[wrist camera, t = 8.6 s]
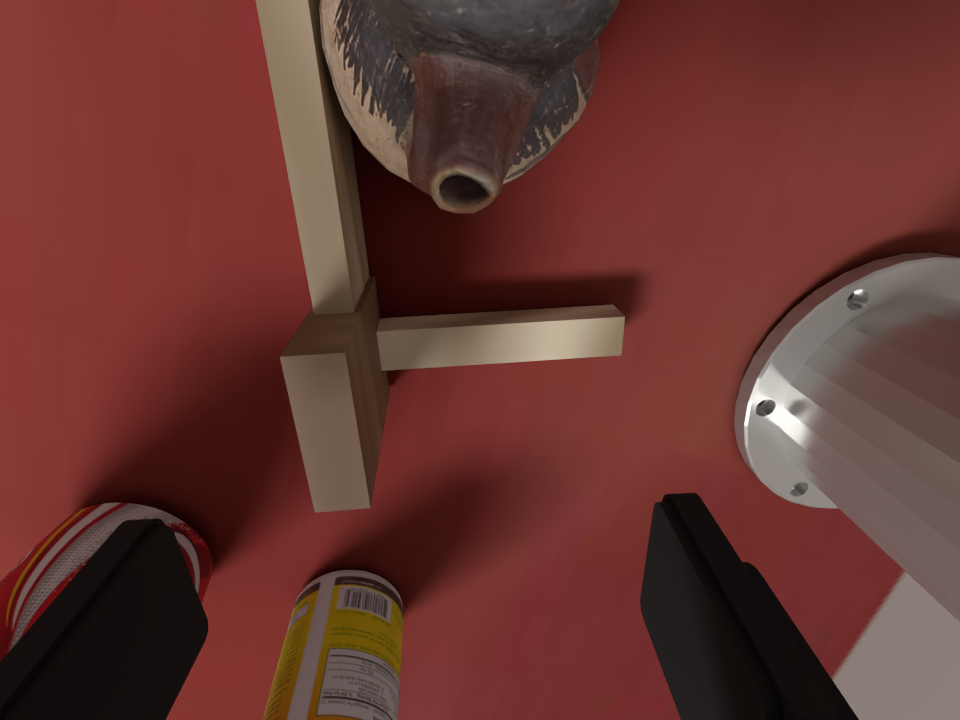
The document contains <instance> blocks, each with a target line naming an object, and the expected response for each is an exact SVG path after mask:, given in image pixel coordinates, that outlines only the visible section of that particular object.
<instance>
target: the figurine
mask: <svg viewBox="0 0 960 720" xmlns="http://www.w3.org/2000/svg"><path fill="white" fill-rule="evenodd" d="M619 2H620V0H321V1H320V8H319V12H320V25H321V39H322V48H323V51H324V54H325V57H326V61H327V64H328V67H329V70H330V74H331V77H332V81H333V85H334V88H335V91H336V94H337V96H338V99H339V102H340V104H341V107H342V110H343V112H344V115H345V117H346V118H347V120H348V122H349V123H350V125H351V126H352V128H353V130H354V131H355V133H356V134H357V136H358V138H359V140H360V142H361V143H362V145H363V146H364V147H365V148H366V149H367V150H368V151H369V152H370V153H371V154H372V155H373V156H374V157H375V158H376V159H377V160H378V161H379V162H380V163H381V164H382V165H383V166H384V167H385V168H386V169H387V170H389V171H390V172H392V173H394V174H396V175H398V176H399V177H401V178H403V179H405V180H407V181H408V182H410V183H412V185H413V186H415V187H417V188H418V189H420V190H422V191H423V192H425V193H427V194H428V195H431V197H432V198H433V200H434V201H435V203H436V204H437V205H438V207H439V208H440V209H443V210H446V211H449V212H452V213H462V214H474V213H476V212H477V211H479V210H481V209H483V208H484V207H486V206H488V205H489V204H491V203H492V202H493V201H494V200H495V199H496V198H497V197H498V195H499V194H500V193H501V191H502V188H503V185H504V184H506V183H508V182H511V181H513V180H515V179H517V178H519V177H521V176H522V175H523V174H524V173H525V172H527V171H528V170H529V169H530V168H532V167H533V166H534V165H535V164H537V163H538V162H539V161H540V160H542V159H543V158H544V157H545V156H546V155H547V154H548V153H550V152H551V151H552V150H553V149H554V148H555V146H556V145H557V144H558V143H559V142H560V141H561V140H562V139H563V137H564V136H565V135H566V134H567V133H568V132H569V131H570V129H571V128H572V127H573V126H574V125H575V124H576V123H577V122H578V120H579V118H580V116H581V114H582V112H583V110H584V108H585V106H586V104H587V102H588V100H589V98H590V96H591V95H592V93H593V91H594V86H595V81H596V76H597V71H598V65H599V60H600V51H599V43H598V37H599V36H600V34H601V33H602V31H603V30H604V29H605V27H606V26H607V24H608V23H609V21H610V19H611V17H612V16H613V14H614V12H615V10H616V8H617V6H618V4H619Z"/></svg>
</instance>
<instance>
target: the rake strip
mask: <svg viewBox="0 0 960 720" xmlns="http://www.w3.org/2000/svg"><path fill="white" fill-rule="evenodd" d="M320 1H321V0H256V4H257V10H258V15H259V21H260V26H261V31H262V37H263V42H264V48H265V53H266V58H267V64H268V69H269V74H270V80H271V85H272V91H273V96H274V101H275V107H276V112H277V118H278V123H279V128H280V134H281V139H282V145H283V150H284V155H285V161H286V166H287V171H288V177H289V182H290V188H291V193H292V198H293V204H294V209H295V215H296V220H297V225H298V231H299V236H300V242H301V247H302V252H303V258H304V263H305V268H306V274H307V279H308V285H309V290H310V295H311V301H312V306H313V307H312V309H311V310H310V312H309V313H308V315H307V316H306V318H305V319H304V321H303V322H302V324H301V325H300V327H299V328H298V330H297V332H296V333H295V335H294V336H293V338H292V339H291V341H290V342H289V344H288V345H287V347H286V348H285V350H284V351H283V353H282V354H281V356H280V360H281V365H282V369H283V373H284V378H285V382H286V387H287V391H288V396H289V400H290V404H291V409H292V413H293V418H294V422H295V427H296V431H297V435H298V440H299V444H300V449H301V453H302V458H303V462H304V466H305V471H306V475H307V480H308V484H309V489H310V493H311V497H312V502H313V506H314V511H315V513H316V512H328V511H340V510H352V509H364V508H371V502H372V496H373V490H374V483H375V477H376V471H377V465H378V459H379V453H380V447H381V441H382V434H383V428H384V422H385V416H386V410H387V404H388V398H389V385H388V377H387V370H403V369H418V368H433V367H448V366H463V365H479V364H494V363H509V362H524V361H540V360H555V359H570V358H585V357H600V356H616V355H621V353H622V343H623V333H624V323H625V316H624V315H623V314H622V313H621V312H620V311H619V310H618V309H617V308H616V307H615V306H614V305H598V306H581V307H564V308H547V309H531V310H514V311H497V312H480V313H463V314H446V315H429V316H412V317H395V318H380V313H379V305H378V297H377V289H376V281H375V276H369V269H368V261H367V254H366V246H365V238H364V231H363V223H362V215H361V207H360V200H359V192H358V184H357V177H356V169H355V161H354V154H353V146H352V138H351V131H350V123H349V122H348V120H347V118H346V117H345V115H344V112H343V110H342V107H341V104H340V102H339V99H338V96H337V94H336V91H335V88H334V85H333V81H332V77H331V74H330V70H329V67H328V64H327V61H326V57H325V54H324V51H323V48H322V39H321V25H320V12H319V8H320Z"/></svg>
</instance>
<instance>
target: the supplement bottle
mask: <svg viewBox="0 0 960 720" xmlns="http://www.w3.org/2000/svg"><path fill="white" fill-rule="evenodd" d="M402 631H403V604H402V600H401V597H400V595H399V593H398V592H397V590H396V589H395V588H394V587H393V586H392V585H391V584H390V583H389V582H388V581H387V580H385V579H384V578H382V577H380V576H378V575H376V574H373V573H370V572H366V571H361V570H340V571H334V572H331V573H328V574H325V575H322V576H320V577H318V578H316V579H315V580H313V581H312V582H311V583H309V584H308V585H307V586H306V587H305V588H304V589H303V590H302V592H301V593H300V594H299V596H298V598H297V600H296V603H295V606H294V609H293V612H292V616H291V619H290V623H289V626H288V630H287V634H286V638H285V641H284V645H283V648H282V652H281V655H280V659H279V662H278V666H277V669H276V673H275V677H274V680H273V684H272V687H271V691H270V695H269V698H268V702H267V705H266V709H265V712H264V716H263V719H262V720H398V706H399V688H400V670H401V649H402Z"/></svg>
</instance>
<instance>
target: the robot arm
mask: <svg viewBox="0 0 960 720" xmlns="http://www.w3.org/2000/svg"><path fill="white" fill-rule="evenodd" d="M734 428H735V434H736V439H737V445H738V448H739V450H740V452H741V454H742V456H743V459H744V461H745V463H746V464H747V465H748V466H749V468H750V469H751V470H752V471H753V472H754V474H755V475H756V476H757V477H758V478H759V479H760V481H761V482H763V483H764V484H765V485H766V486H767V487H768V488H769V489H770V490H771V491H773V492H774V493H775V494H777V495H779V496H781V497H782V498H784V499H786V500H788V501H790V502H794V503H798V504H801V505H805V506H809V507H818V508H839V509H840V510H841V511H842V512H843V513H844V514H845V515H846V516H848V517H849V518H850V519H851V520H852V521H853V522H854V523H855V524H856V525H857V526H858V527H859V528H860V529H861V530H862V531H863V532H864V533H866V534H867V535H868V536H869V537H870V538H871V539H872V540H873V541H874V542H875V543H876V544H877V545H878V546H879V547H880V548H881V549H882V550H884V551H885V552H886V553H887V554H888V555H889V556H890V557H891V558H892V559H893V560H894V561H895V562H896V563H897V564H898V565H899V566H900V567H902V568H903V569H904V570H905V571H906V572H907V573H908V574H909V575H910V576H911V577H912V578H913V579H914V580H915V581H916V582H918V584H920V585H921V586H922V587H923V588H924V589H925V590H926V591H927V592H928V593H929V594H930V595H931V596H932V597H933V598H934V599H936V601H938V602H939V603H940V604H941V605H942V606H943V607H944V608H945V609H946V610H947V611H948V612H949V613H950V614H951V615H952V616H953V617H955V618H956V619H957V620H958V621H959V622H960V258H959V257H956V256H950V255H943V254H937V253H931V252H928V253H909V254H900V255H896V256H892V257H887V258H883V259H879V260H875V261H872V262H869V263H867V264H865V265H862V266H860V267H857V268H855V269H853V270H850V271H848V272H845V273H843V274H842V275H840V276H838V277H837V278H835V279H833V280H832V281H830V282H828V283H827V284H825V285H823V286H822V287H820V288H818V289H817V290H815V291H814V292H813V293H812V294H810V295H809V296H808V297H807V298H805V299H804V300H803V301H802V302H801V303H799V304H798V305H797V306H796V307H794V308H793V309H792V310H791V311H790V312H789V313H788V314H787V315H786V316H785V317H784V318H783V319H782V320H781V322H780V323H779V324H778V325H777V326H776V327H775V328H774V329H773V330H772V331H771V332H770V334H769V335H768V336H767V338H766V339H765V341H764V342H763V344H762V345H761V347H760V348H759V350H758V351H757V352H756V354H755V355H754V357H753V359H752V361H751V363H750V365H749V367H748V369H747V371H746V374H745V376H744V378H743V380H742V382H741V386H740V390H739V394H738V397H737V401H736V405H735V421H734ZM640 603H641V611H642V615H643V619H644V621H645V624H646V627H647V630H648V632H649V635H650V638H651V640H652V643H653V646H654V648H655V651H656V654H657V656H658V659H659V662H660V665H661V667H662V670H663V673H664V675H665V678H666V681H667V683H668V686H669V689H670V691H671V694H672V697H673V700H674V702H675V705H676V708H677V710H678V713H679V716H680V718H681V720H859V719H858V718H857V716H856V715H855V713H854V712H853V710H852V709H851V708H850V706H849V705H848V703H847V702H846V700H845V698H844V697H843V696H842V694H841V693H840V691H839V690H838V688H837V687H836V685H835V684H834V682H833V681H832V679H831V678H830V676H829V675H828V673H827V672H826V670H825V669H824V667H823V666H822V664H821V663H820V661H819V660H818V658H817V657H816V655H815V654H814V652H813V651H812V649H811V648H810V646H809V645H808V643H807V642H806V641H805V639H804V638H803V636H802V635H801V633H800V632H799V630H798V629H797V627H796V626H795V624H794V623H793V621H792V620H791V618H790V617H789V615H788V614H787V612H786V611H785V609H784V608H783V606H782V605H781V603H780V602H779V600H778V599H777V597H776V596H775V594H774V593H773V591H772V590H771V588H770V587H769V586H768V584H767V583H766V581H765V580H764V578H763V577H762V575H761V574H760V573H759V571H758V570H757V569H756V568H755V567H754V566H753V565H751V564H750V563H748V562H742V561H741V560H740V558H739V557H738V555H737V553H736V552H735V550H734V549H733V547H732V546H731V544H730V543H729V541H728V540H727V538H726V536H725V535H724V533H723V532H722V530H721V529H720V527H719V526H718V524H717V523H716V521H715V519H714V518H713V516H712V515H711V513H710V512H709V510H708V509H707V507H706V506H705V504H704V503H703V501H702V499H701V498H700V497H699V496H698V494H696V493H681V494H666V495H665V496H664V497H663V500H662V502H657V503H655V505H654V509H653V516H652V523H651V529H650V536H649V543H648V550H647V557H646V564H645V570H644V577H643V584H642V591H641V599H640ZM207 633H208V620H207V617H206V614H205V612H204V609H203V607H202V604H201V601H200V599H199V596H198V593H197V591H196V588H195V586H194V583H193V580H192V578H191V575H190V573H189V570H188V567H187V565H186V562H185V559H184V557H183V554H182V552H181V549H180V546H179V544H178V541H177V538H176V536H175V533H174V531H173V529H172V528H171V527H170V526H166V525H165V523H164V522H163V521H162V520H161V519H137V520H126V521H124V522H122V523H121V524H120V525H119V526H118V527H117V528H116V529H115V530H114V531H113V533H112V534H111V535H110V536H109V537H108V538H107V539H106V541H105V542H104V543H103V544H102V545H101V546H100V548H99V549H98V550H97V551H96V552H95V553H94V554H93V556H92V557H91V558H90V559H89V560H88V561H87V562H86V564H85V565H84V566H83V567H82V568H81V569H80V571H79V572H78V573H77V574H76V575H75V576H74V577H73V579H72V580H71V581H70V582H69V583H68V584H67V586H66V587H65V588H64V589H63V590H62V591H61V592H60V594H59V595H58V596H57V597H56V598H55V599H54V601H53V602H52V603H51V604H50V605H49V606H48V607H47V609H46V610H45V611H44V612H43V613H42V614H41V616H40V617H39V618H38V619H37V620H36V621H35V622H34V624H33V625H32V626H31V627H30V628H29V629H28V630H27V632H26V633H25V634H24V635H23V636H22V637H21V639H20V640H19V641H18V642H17V643H16V644H15V645H14V647H13V648H12V649H11V650H10V651H9V652H8V654H7V655H6V656H5V657H4V658H3V659H2V660H1V662H0V720H166V718H167V716H168V714H169V712H170V710H171V708H172V706H173V704H174V702H175V700H176V698H177V696H178V694H179V692H180V690H181V688H182V686H183V684H184V682H185V680H186V678H187V676H188V674H189V672H190V670H191V668H192V666H193V664H194V662H195V660H196V658H197V656H198V654H199V652H200V650H201V648H202V646H203V644H204V642H205V640H206V637H207Z"/></svg>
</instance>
